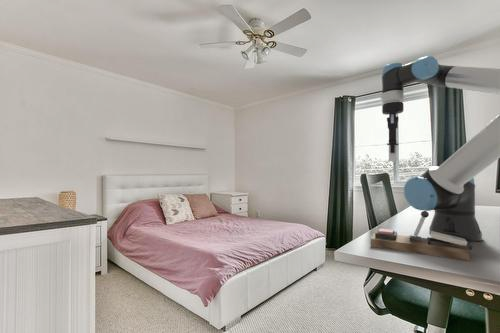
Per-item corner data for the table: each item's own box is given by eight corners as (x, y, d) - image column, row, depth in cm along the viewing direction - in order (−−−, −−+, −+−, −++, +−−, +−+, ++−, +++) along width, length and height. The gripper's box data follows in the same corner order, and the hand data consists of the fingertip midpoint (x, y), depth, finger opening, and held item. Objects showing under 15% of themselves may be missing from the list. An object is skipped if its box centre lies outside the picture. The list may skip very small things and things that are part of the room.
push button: (393, 236, 83) (393, 229, 83) (392, 238, 79) (392, 232, 79) (380, 234, 85) (379, 228, 85) (378, 237, 82) (378, 230, 82)
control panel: (467, 251, 75) (466, 237, 75) (473, 261, 67) (473, 246, 67) (374, 239, 88) (374, 227, 89) (370, 246, 80) (370, 233, 80)
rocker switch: (463, 243, 73) (464, 238, 73) (466, 246, 70) (467, 241, 70) (430, 234, 77) (431, 230, 77) (431, 237, 74) (432, 233, 74)
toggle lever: (418, 236, 78) (429, 212, 77) (419, 237, 76) (430, 213, 75) (411, 233, 79) (422, 209, 78) (411, 234, 77) (422, 210, 76)
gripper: (383, 107, 110) (383, 161, 110) (381, 101, 99) (381, 160, 98) (403, 105, 106) (403, 161, 106) (403, 98, 95) (403, 160, 95)
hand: (392, 161), depth 102 cm, fingers closed
